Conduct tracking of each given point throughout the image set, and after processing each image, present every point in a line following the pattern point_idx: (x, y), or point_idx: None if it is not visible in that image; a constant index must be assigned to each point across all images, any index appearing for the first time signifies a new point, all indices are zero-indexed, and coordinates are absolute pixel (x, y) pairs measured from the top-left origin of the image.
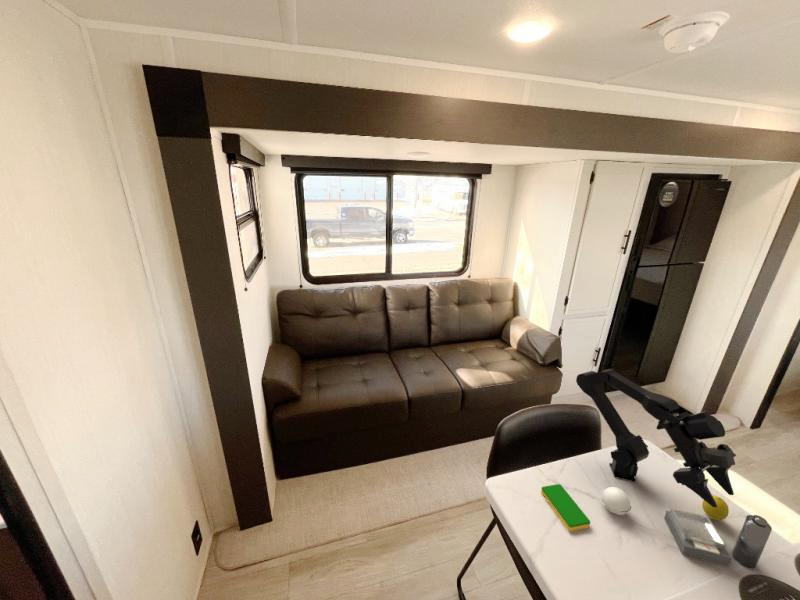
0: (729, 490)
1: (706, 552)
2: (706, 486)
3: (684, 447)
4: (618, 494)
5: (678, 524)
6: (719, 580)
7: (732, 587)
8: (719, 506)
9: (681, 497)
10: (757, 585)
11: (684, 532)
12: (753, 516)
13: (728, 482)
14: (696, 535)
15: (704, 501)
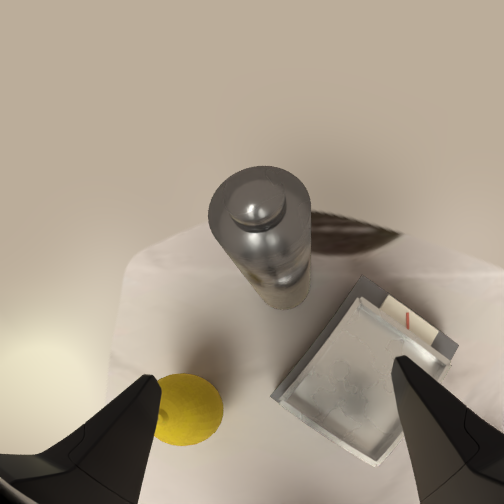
0: (146, 399)
1: (416, 313)
2: (479, 461)
3: None
4: None
5: None
6: (418, 267)
7: (404, 247)
8: (191, 400)
9: (208, 478)
10: (334, 231)
11: (446, 372)
12: (267, 216)
13: (108, 425)
14: None
15: (202, 440)
